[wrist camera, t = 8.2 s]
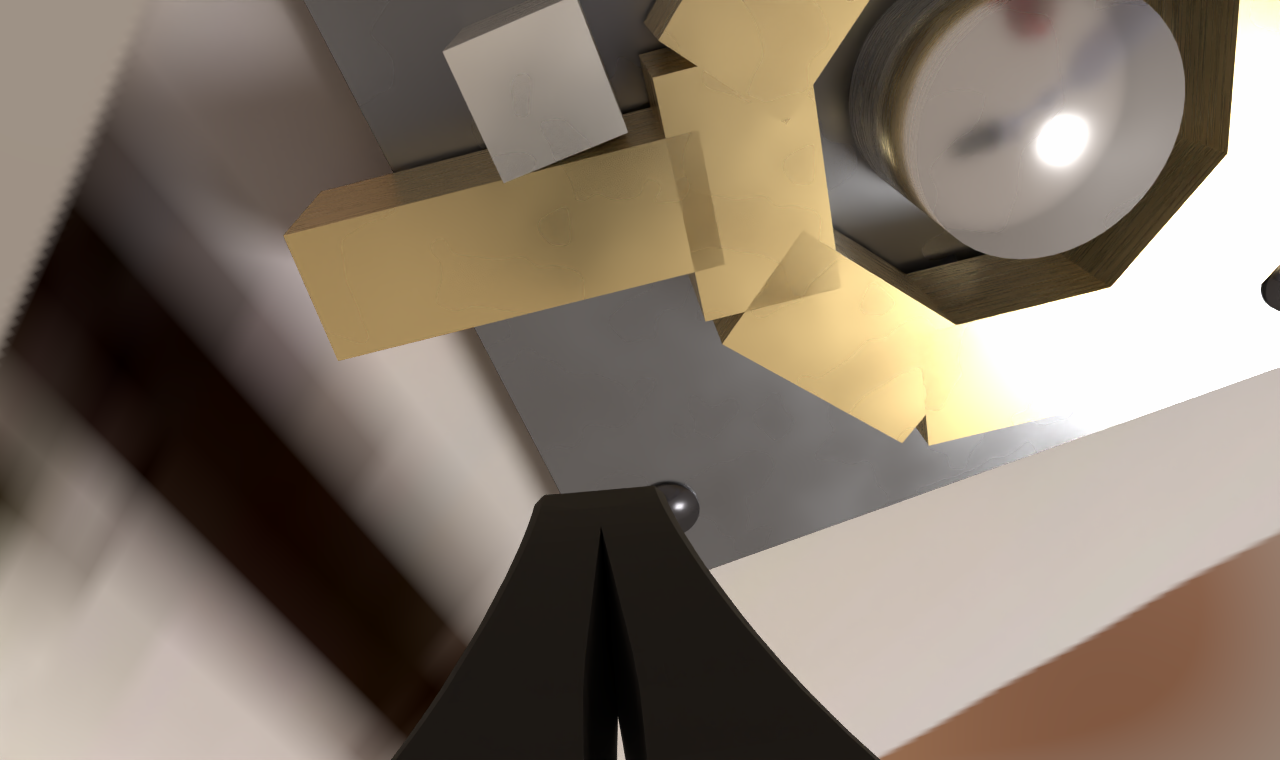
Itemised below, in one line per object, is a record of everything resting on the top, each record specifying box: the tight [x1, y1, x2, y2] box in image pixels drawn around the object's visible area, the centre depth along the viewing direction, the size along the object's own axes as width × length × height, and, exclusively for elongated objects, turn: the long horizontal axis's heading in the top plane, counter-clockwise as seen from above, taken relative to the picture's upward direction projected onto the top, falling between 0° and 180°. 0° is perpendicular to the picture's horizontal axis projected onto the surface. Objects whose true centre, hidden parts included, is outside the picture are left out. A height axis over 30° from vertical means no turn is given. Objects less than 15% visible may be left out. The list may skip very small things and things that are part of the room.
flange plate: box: [304, 0, 1280, 570], centre depth 15 cm, size 18×17×4 cm
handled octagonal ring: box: [283, 0, 1280, 446], centre depth 15 cm, size 17×11×2 cm, turn 103°
